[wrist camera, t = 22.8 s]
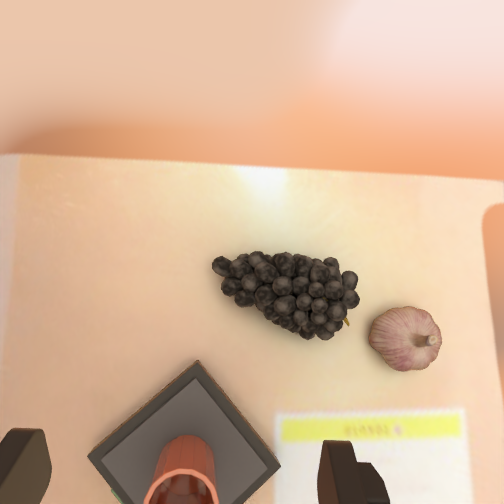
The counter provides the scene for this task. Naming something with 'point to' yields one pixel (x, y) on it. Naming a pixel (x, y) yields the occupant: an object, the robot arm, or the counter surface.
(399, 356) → the garlic bulb
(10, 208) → the counter surface
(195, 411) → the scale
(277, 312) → the fruit
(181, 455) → the terracotta cup
